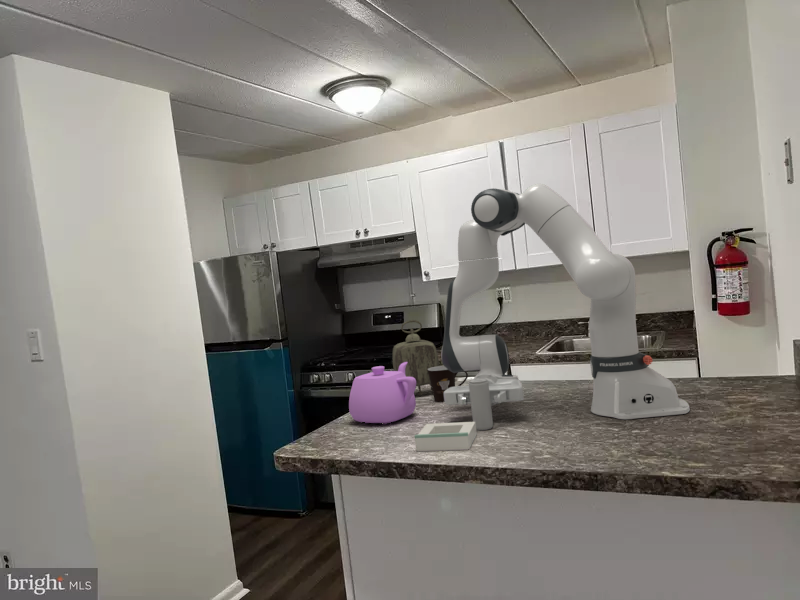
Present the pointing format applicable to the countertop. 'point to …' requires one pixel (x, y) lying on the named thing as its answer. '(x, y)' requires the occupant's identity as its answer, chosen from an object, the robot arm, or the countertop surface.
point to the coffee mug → (442, 381)
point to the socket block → (446, 436)
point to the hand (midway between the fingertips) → (479, 400)
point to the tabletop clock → (415, 357)
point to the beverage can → (480, 403)
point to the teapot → (382, 396)
